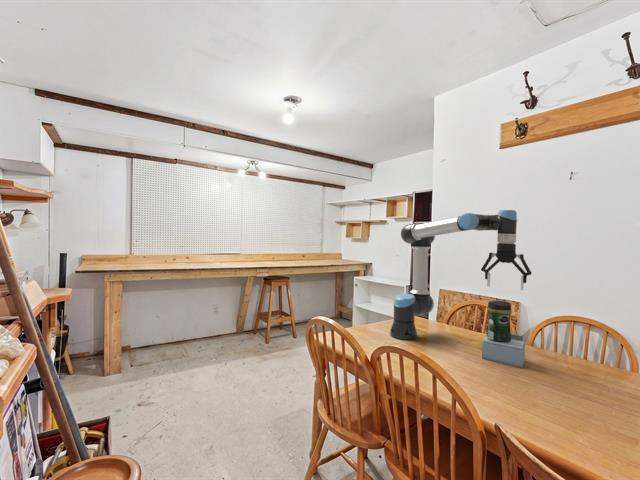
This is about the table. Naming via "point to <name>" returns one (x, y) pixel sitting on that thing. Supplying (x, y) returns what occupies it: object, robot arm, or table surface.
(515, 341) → the lid
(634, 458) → the table surface
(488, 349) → the box
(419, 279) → the robot arm
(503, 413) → the table surface
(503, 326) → the coffee jar
